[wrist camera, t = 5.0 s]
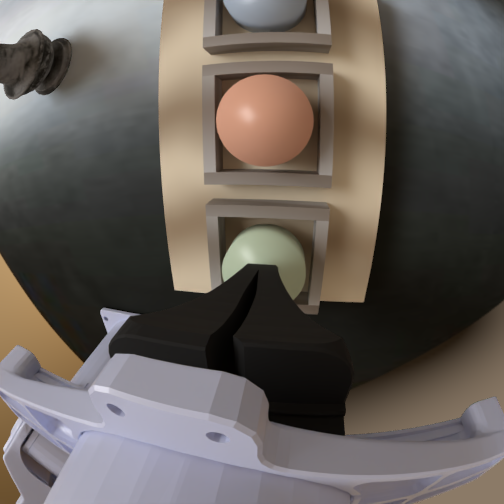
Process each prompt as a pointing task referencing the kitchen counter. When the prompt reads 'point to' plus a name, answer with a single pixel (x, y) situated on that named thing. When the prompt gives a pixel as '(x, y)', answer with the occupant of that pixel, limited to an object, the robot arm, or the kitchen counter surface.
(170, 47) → the button panel
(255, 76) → the terracotta button
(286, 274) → the green button
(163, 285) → the kitchen counter surface
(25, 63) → the grey chess piece
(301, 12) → the blue button
